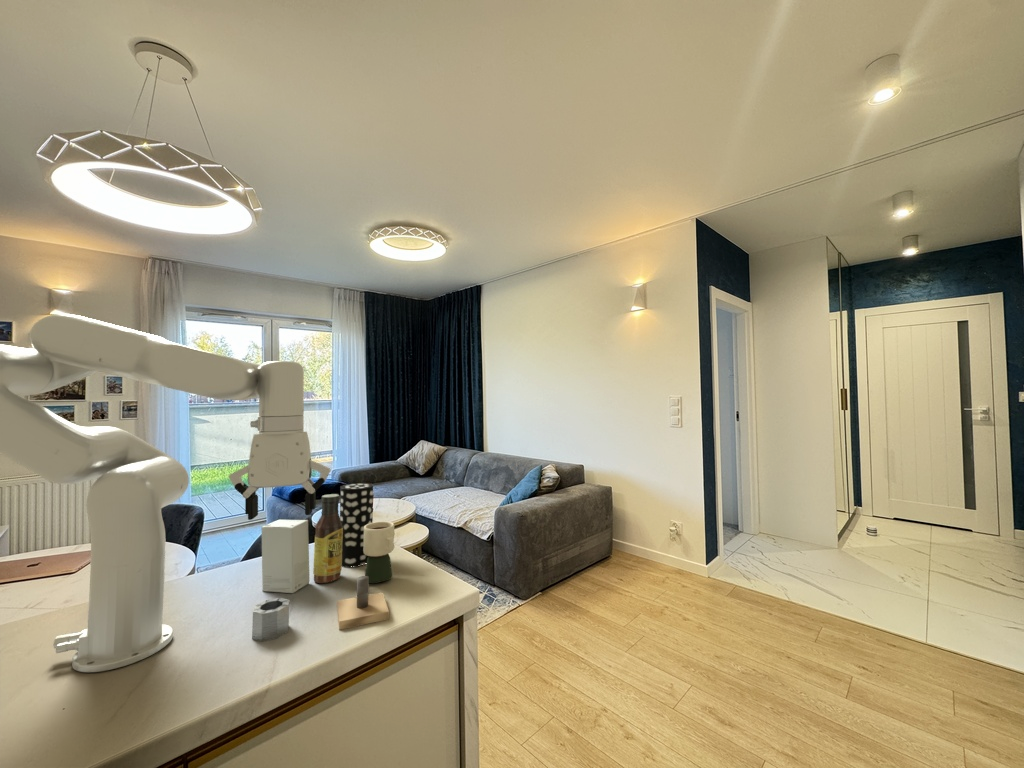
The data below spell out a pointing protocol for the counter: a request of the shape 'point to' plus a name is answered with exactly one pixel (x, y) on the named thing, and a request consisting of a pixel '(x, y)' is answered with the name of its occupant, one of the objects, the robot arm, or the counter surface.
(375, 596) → the shaft stand
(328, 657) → the counter surface
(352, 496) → the white-spotted black cylinder
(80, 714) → the counter surface
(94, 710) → the counter surface
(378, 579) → the character mug
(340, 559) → the sauce bottle
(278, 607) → the tube
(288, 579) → the skincare box
